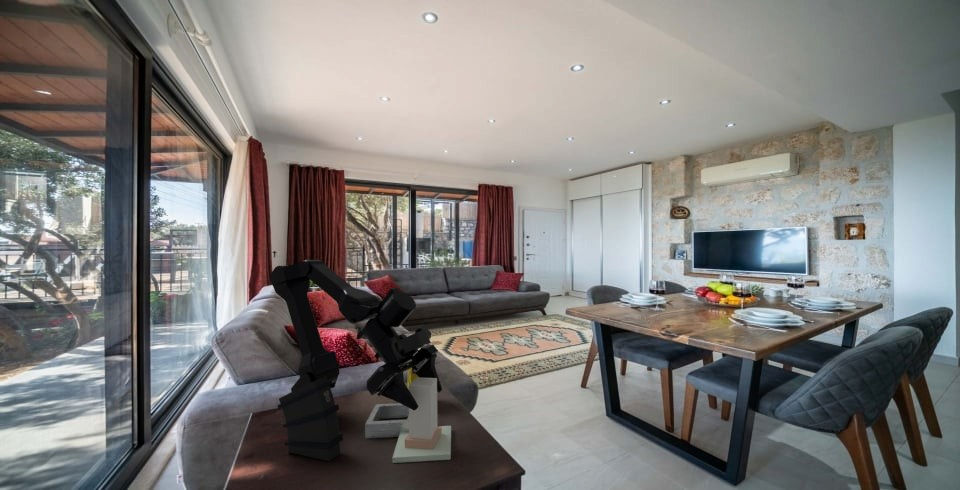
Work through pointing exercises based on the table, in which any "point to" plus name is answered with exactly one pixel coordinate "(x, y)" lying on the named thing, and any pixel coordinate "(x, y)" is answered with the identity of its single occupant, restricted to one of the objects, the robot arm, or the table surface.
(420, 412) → the plug
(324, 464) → the table surface
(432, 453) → the sage pad
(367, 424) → the holder collar
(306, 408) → the black ridged block stack
